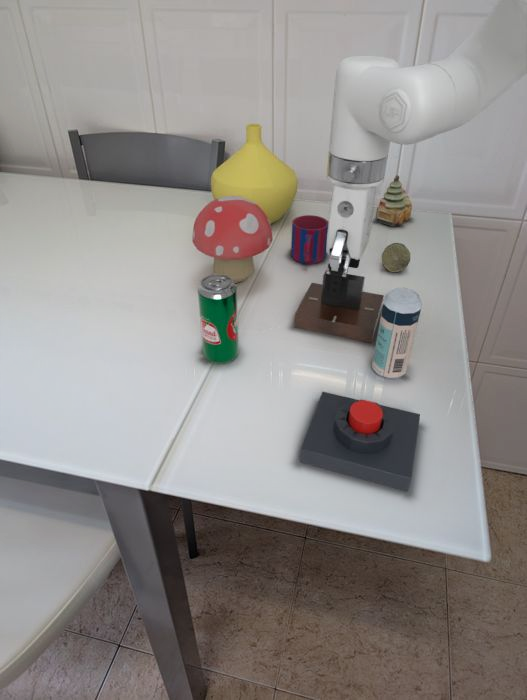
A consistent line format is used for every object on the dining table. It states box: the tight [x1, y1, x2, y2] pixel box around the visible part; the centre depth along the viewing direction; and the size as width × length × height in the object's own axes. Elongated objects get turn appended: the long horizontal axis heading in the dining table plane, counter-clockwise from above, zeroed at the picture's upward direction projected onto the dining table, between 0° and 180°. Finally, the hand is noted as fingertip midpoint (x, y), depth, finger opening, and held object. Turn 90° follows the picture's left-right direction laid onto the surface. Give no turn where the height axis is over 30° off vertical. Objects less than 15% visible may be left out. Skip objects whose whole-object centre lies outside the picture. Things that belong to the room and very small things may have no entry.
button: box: [348, 399, 383, 434], centre depth 55 cm, size 4×4×2 cm
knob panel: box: [293, 282, 385, 344], centre depth 78 cm, size 12×10×3 cm
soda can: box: [197, 273, 240, 365], centre depth 68 cm, size 5×5×12 cm
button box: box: [299, 391, 421, 492], centre depth 57 cm, size 12×10×4 cm
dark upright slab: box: [321, 269, 366, 310], centre depth 76 cm, size 6×2×5 cm, turn 71°
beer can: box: [371, 287, 423, 379], centre depth 65 cm, size 5×5×12 cm
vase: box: [210, 123, 299, 225], centre depth 103 cm, size 18×18×19 cm
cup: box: [290, 214, 329, 265], centre depth 92 cm, size 7×10×7 cm
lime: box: [381, 242, 411, 273], centre depth 90 cm, size 4×5×5 cm
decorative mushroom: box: [192, 196, 274, 284], centre depth 83 cm, size 13×13×15 cm
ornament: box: [375, 174, 413, 227], centre depth 105 cm, size 8×6×10 cm
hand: (341, 281), depth 75 cm, fingers open, 9 cm apart
